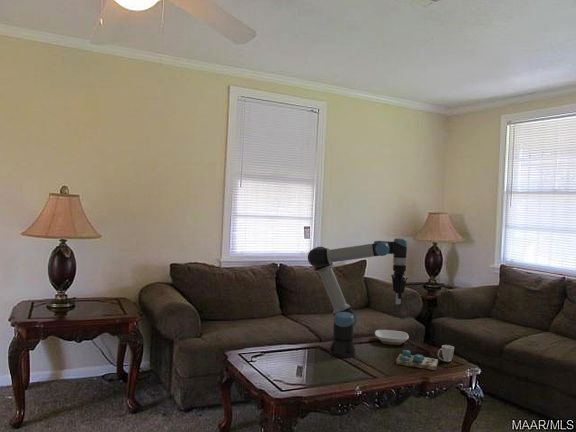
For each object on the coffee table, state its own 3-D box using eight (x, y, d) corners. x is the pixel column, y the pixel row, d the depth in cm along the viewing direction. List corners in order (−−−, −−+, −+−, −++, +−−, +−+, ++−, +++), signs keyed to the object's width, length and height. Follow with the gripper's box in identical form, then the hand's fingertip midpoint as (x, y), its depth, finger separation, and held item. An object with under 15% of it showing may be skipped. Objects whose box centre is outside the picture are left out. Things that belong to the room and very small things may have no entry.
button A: (399, 362, 261) (400, 357, 261) (401, 360, 265) (401, 355, 265) (407, 364, 260) (408, 358, 260) (409, 361, 264) (409, 356, 264)
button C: (412, 362, 259) (413, 356, 259) (413, 359, 263) (414, 354, 263) (421, 363, 257) (421, 357, 257) (422, 361, 261) (422, 355, 261)
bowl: (374, 345, 296) (374, 337, 296) (374, 336, 318) (374, 328, 318) (409, 348, 293) (410, 339, 293) (407, 339, 314) (407, 331, 314)
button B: (401, 356, 267) (402, 351, 267) (403, 354, 271) (403, 349, 271) (409, 358, 266) (409, 352, 266) (410, 355, 270) (411, 350, 270)
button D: (414, 361, 265) (414, 356, 265) (415, 359, 269) (415, 354, 269) (422, 362, 263) (422, 357, 263) (423, 360, 267) (423, 355, 267)
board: (396, 363, 261) (396, 359, 261) (400, 357, 274) (400, 352, 273) (435, 370, 253) (435, 365, 252) (437, 362, 265) (438, 358, 265)
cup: (456, 362, 268) (457, 348, 268) (441, 363, 265) (442, 349, 265) (448, 358, 275) (449, 344, 274) (434, 359, 271) (434, 345, 271)
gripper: (411, 265, 276) (410, 305, 276) (398, 263, 288) (396, 301, 288) (400, 265, 273) (399, 306, 274) (388, 263, 285) (386, 302, 286)
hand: (398, 303), depth 281 cm, fingers closed
